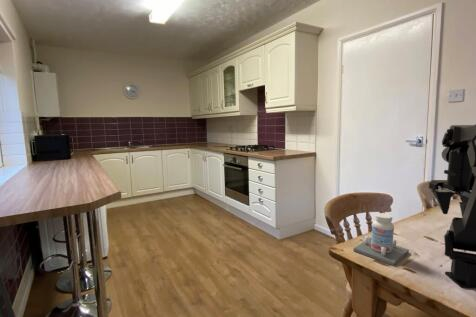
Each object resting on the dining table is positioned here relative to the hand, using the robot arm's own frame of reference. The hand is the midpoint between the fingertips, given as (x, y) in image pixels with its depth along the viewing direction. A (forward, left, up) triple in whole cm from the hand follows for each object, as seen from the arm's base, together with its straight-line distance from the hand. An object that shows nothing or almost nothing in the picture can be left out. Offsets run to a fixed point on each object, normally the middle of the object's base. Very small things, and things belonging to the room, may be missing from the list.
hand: (455, 219), depth 81 cm
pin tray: (+2, +20, -12) cm, 23 cm away
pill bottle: (+2, +20, -11) cm, 23 cm away
